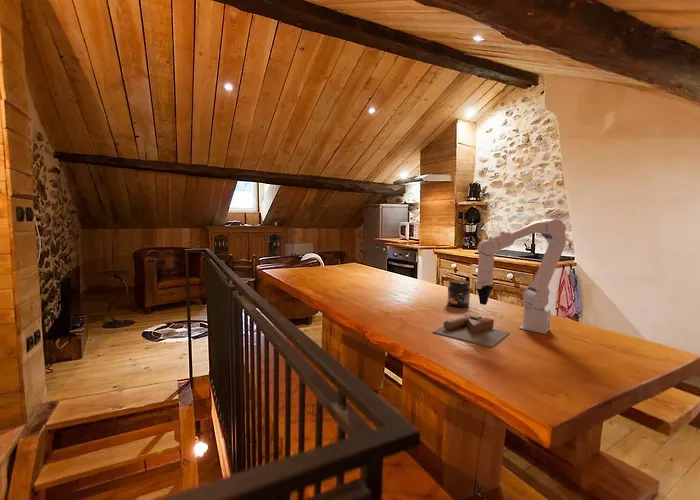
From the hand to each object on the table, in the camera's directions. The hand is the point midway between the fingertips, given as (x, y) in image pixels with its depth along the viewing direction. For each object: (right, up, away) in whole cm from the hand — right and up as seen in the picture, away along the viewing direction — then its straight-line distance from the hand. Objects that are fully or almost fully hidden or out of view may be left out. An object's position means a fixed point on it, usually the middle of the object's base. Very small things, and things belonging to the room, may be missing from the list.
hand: (483, 304), depth 147 cm
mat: (-7, -10, -7) cm, 14 cm away
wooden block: (0, -7, +2) cm, 7 cm away
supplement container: (0, -6, +35) cm, 35 cm away
